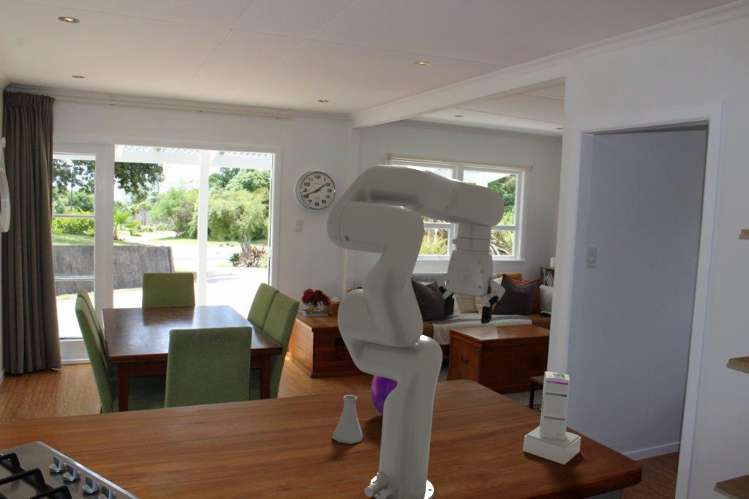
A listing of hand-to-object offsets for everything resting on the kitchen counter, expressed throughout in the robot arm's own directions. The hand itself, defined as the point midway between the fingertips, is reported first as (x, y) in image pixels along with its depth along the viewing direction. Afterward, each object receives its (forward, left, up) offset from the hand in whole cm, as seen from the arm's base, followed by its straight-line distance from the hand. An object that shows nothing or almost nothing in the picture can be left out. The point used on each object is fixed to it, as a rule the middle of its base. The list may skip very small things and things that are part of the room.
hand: (466, 319), depth 141 cm
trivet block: (+14, -18, -30) cm, 38 cm away
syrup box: (+14, -18, -26) cm, 35 cm away
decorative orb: (+3, +19, -31) cm, 36 cm away
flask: (-16, +20, -31) cm, 40 cm away
